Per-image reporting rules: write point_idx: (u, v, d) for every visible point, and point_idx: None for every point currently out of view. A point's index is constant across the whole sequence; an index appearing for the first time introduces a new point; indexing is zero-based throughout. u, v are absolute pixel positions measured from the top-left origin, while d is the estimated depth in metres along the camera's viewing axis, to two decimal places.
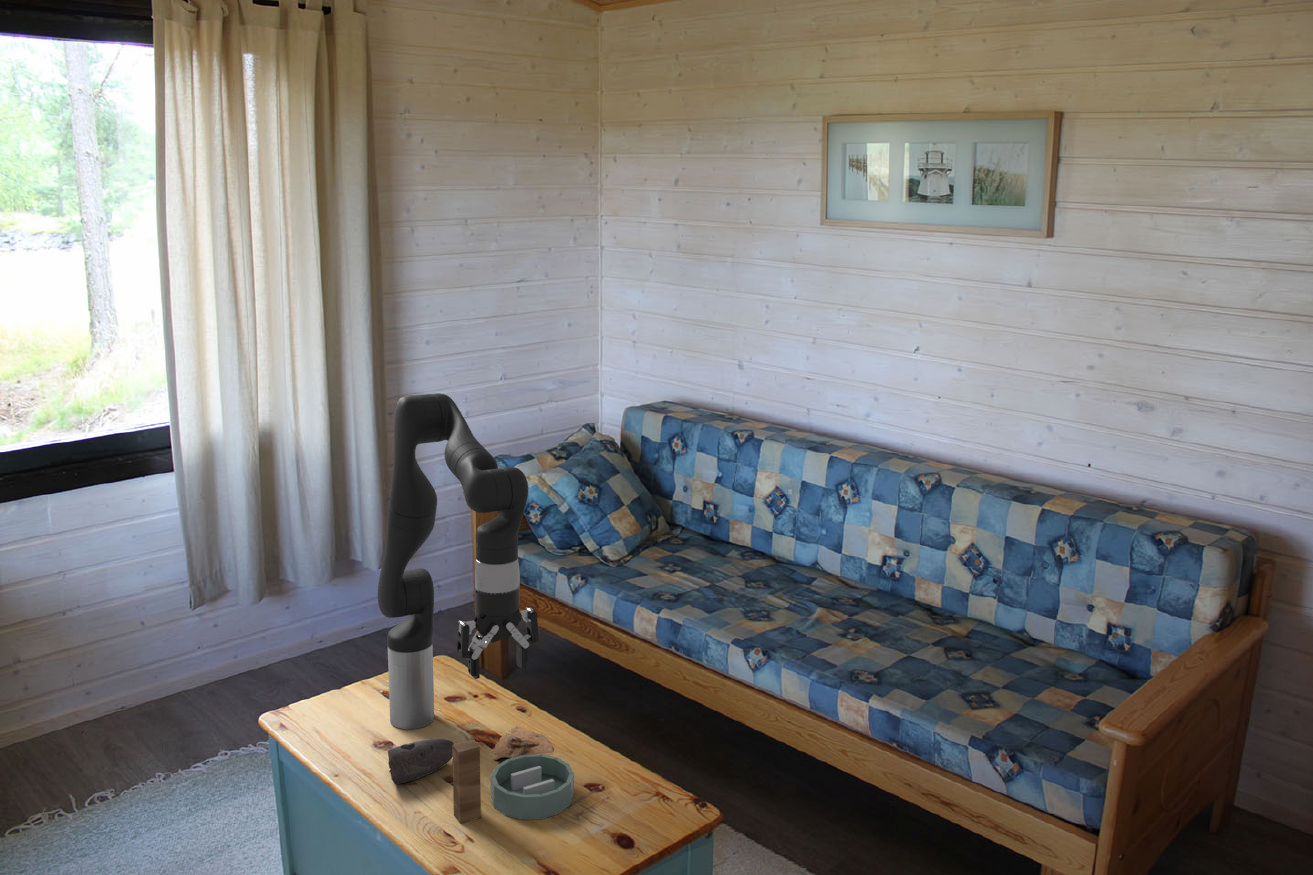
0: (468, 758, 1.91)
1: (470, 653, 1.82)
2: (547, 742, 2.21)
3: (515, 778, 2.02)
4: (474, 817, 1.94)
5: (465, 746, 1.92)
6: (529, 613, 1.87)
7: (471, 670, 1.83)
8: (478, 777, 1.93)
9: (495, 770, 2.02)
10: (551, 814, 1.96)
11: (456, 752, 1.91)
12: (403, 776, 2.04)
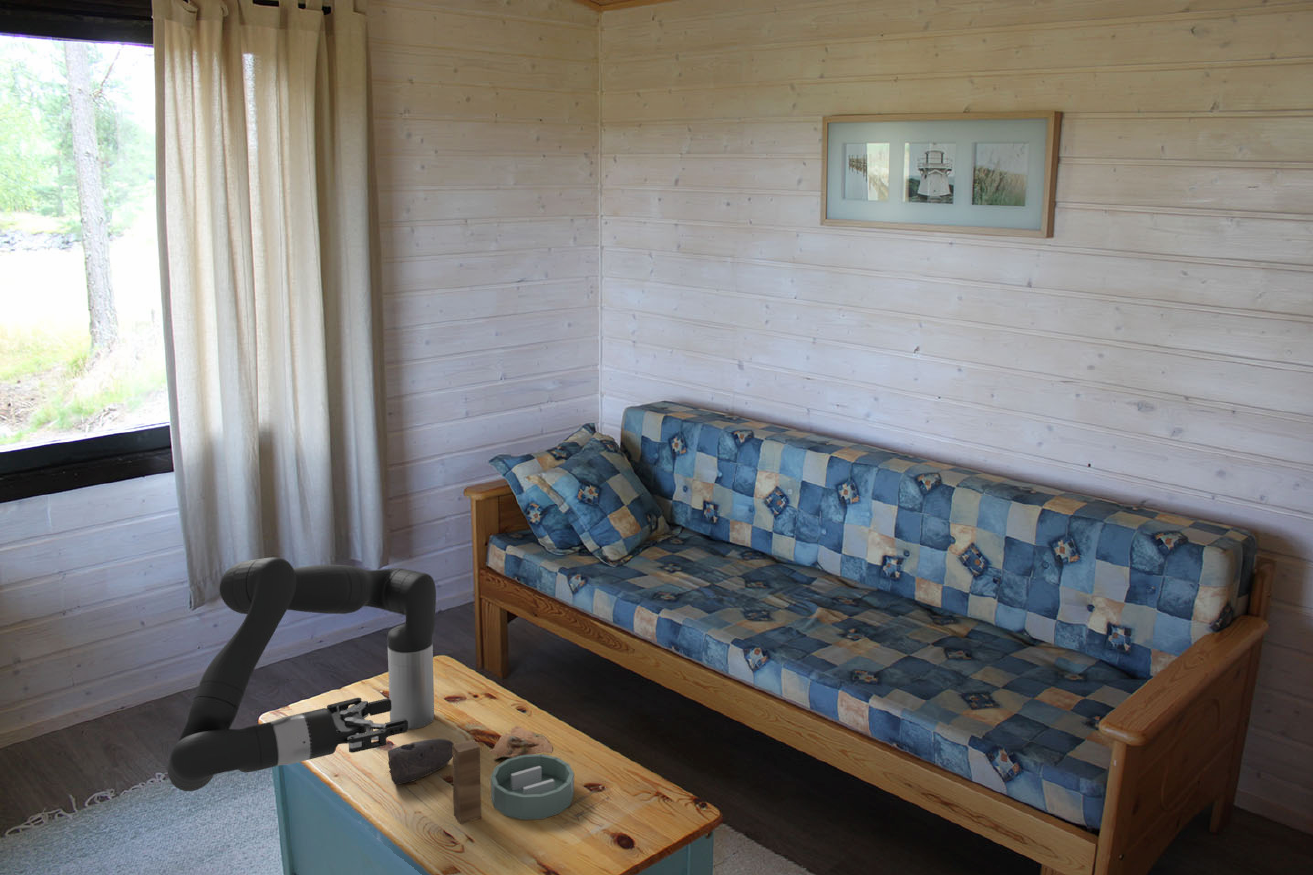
0: (468, 758, 1.91)
1: None
2: (547, 742, 2.21)
3: (515, 778, 2.02)
4: (474, 817, 1.94)
5: (465, 746, 1.92)
6: None
7: None
8: (478, 777, 1.93)
9: (495, 770, 2.02)
10: (551, 814, 1.96)
11: (456, 752, 1.91)
12: (403, 776, 2.04)
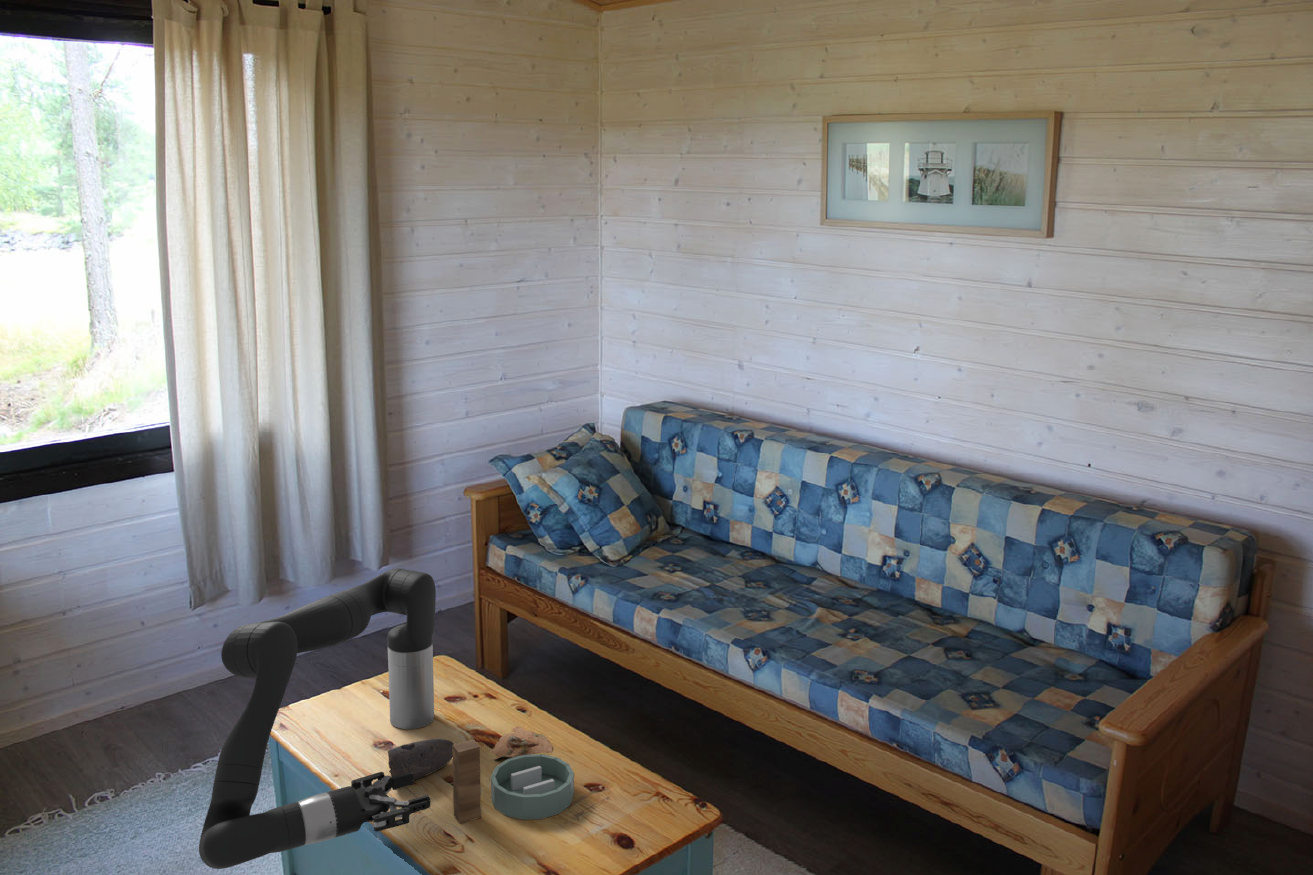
0: (468, 758, 1.91)
1: None
2: (547, 742, 2.21)
3: (515, 778, 2.02)
4: (474, 817, 1.94)
5: (465, 746, 1.92)
6: None
7: None
8: (478, 777, 1.93)
9: (495, 770, 2.02)
10: (551, 814, 1.96)
11: (456, 752, 1.91)
12: None
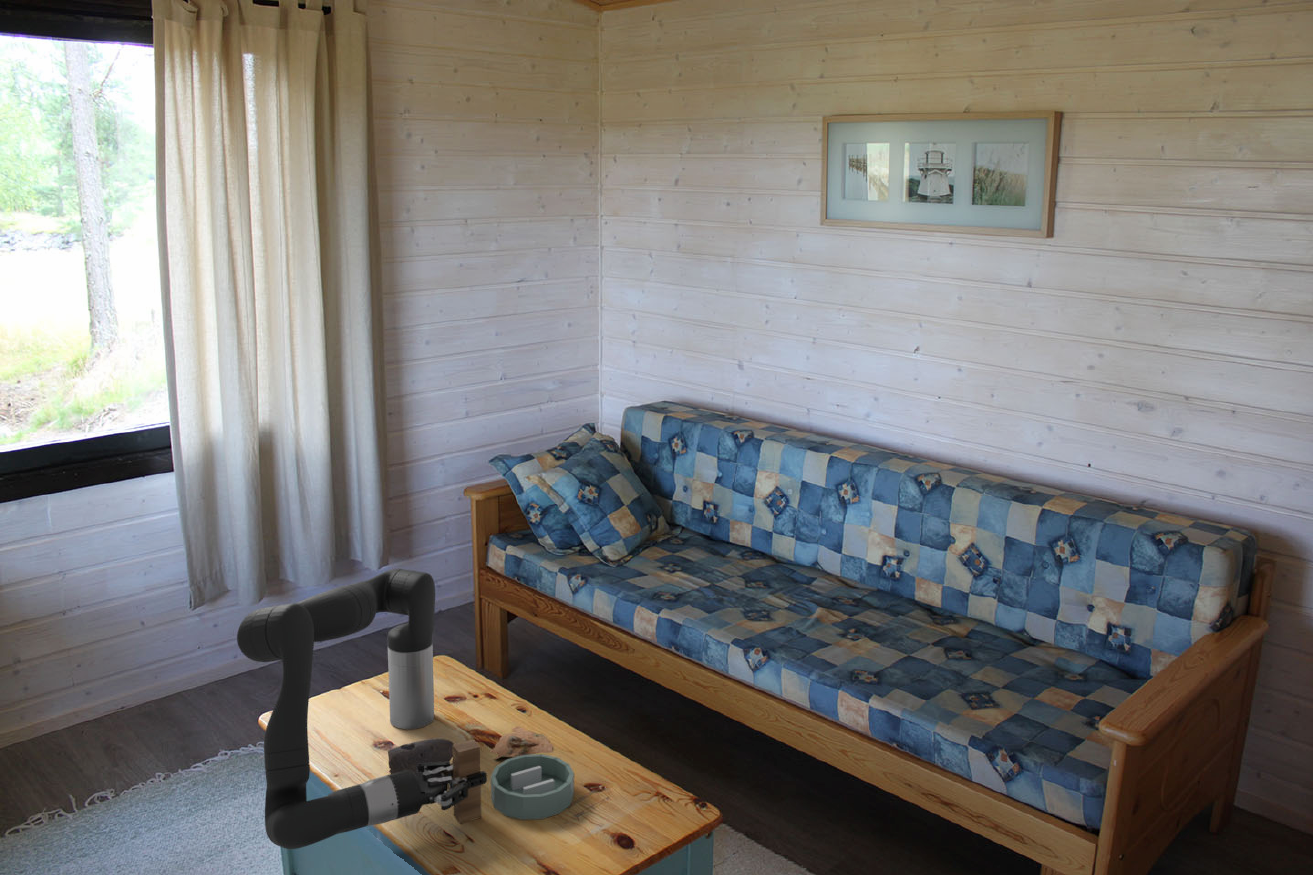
0: (468, 758, 1.91)
1: None
2: (547, 742, 2.21)
3: (515, 778, 2.02)
4: (474, 817, 1.94)
5: (465, 746, 1.92)
6: None
7: None
8: None
9: (495, 770, 2.02)
10: (551, 814, 1.96)
11: (456, 752, 1.91)
12: None
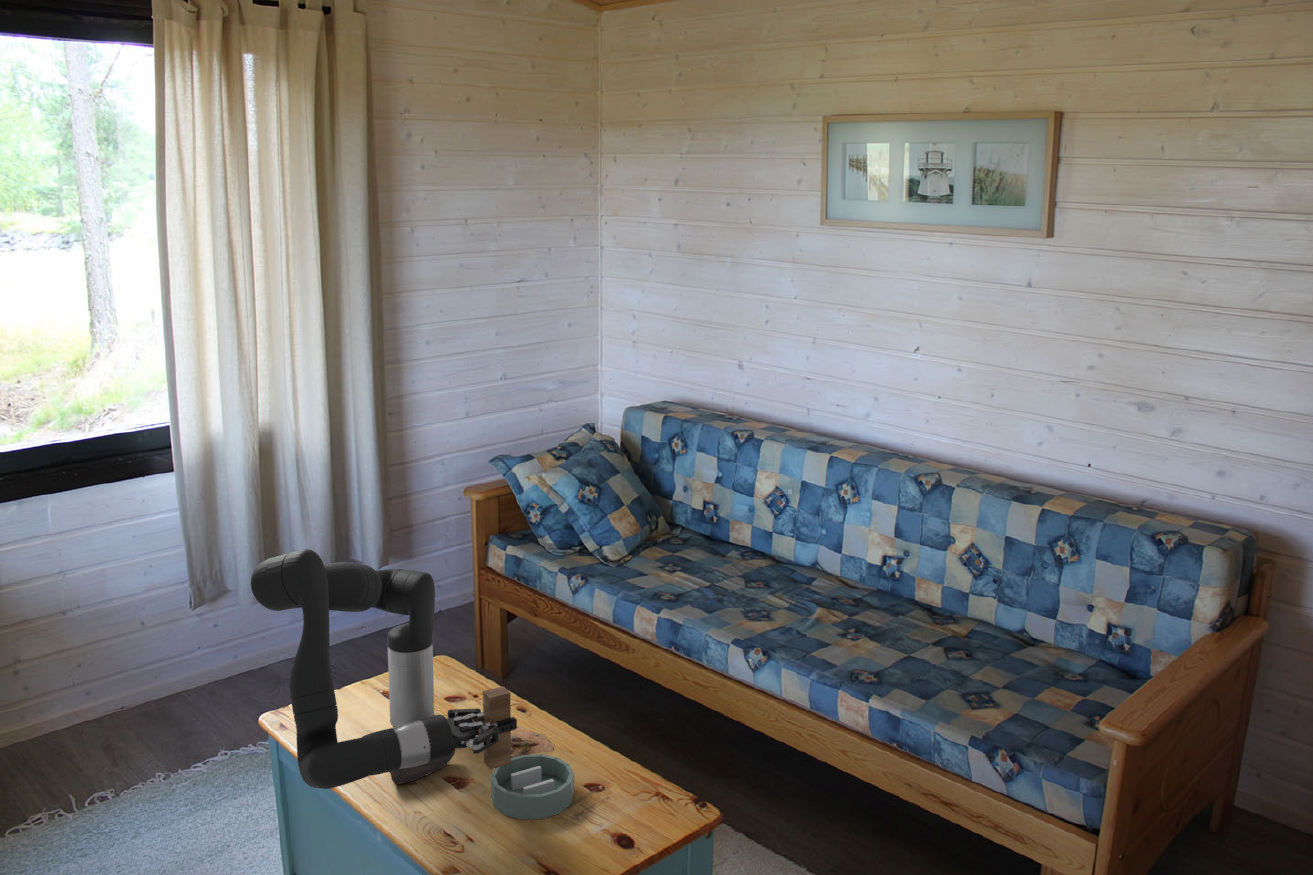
0: (499, 704, 1.93)
1: (480, 722, 1.96)
2: (547, 741, 2.22)
3: (515, 778, 2.02)
4: (504, 763, 1.96)
5: (495, 692, 1.93)
6: None
7: None
8: None
9: (495, 770, 2.02)
10: (551, 814, 1.96)
11: (487, 698, 1.92)
12: (403, 776, 2.04)
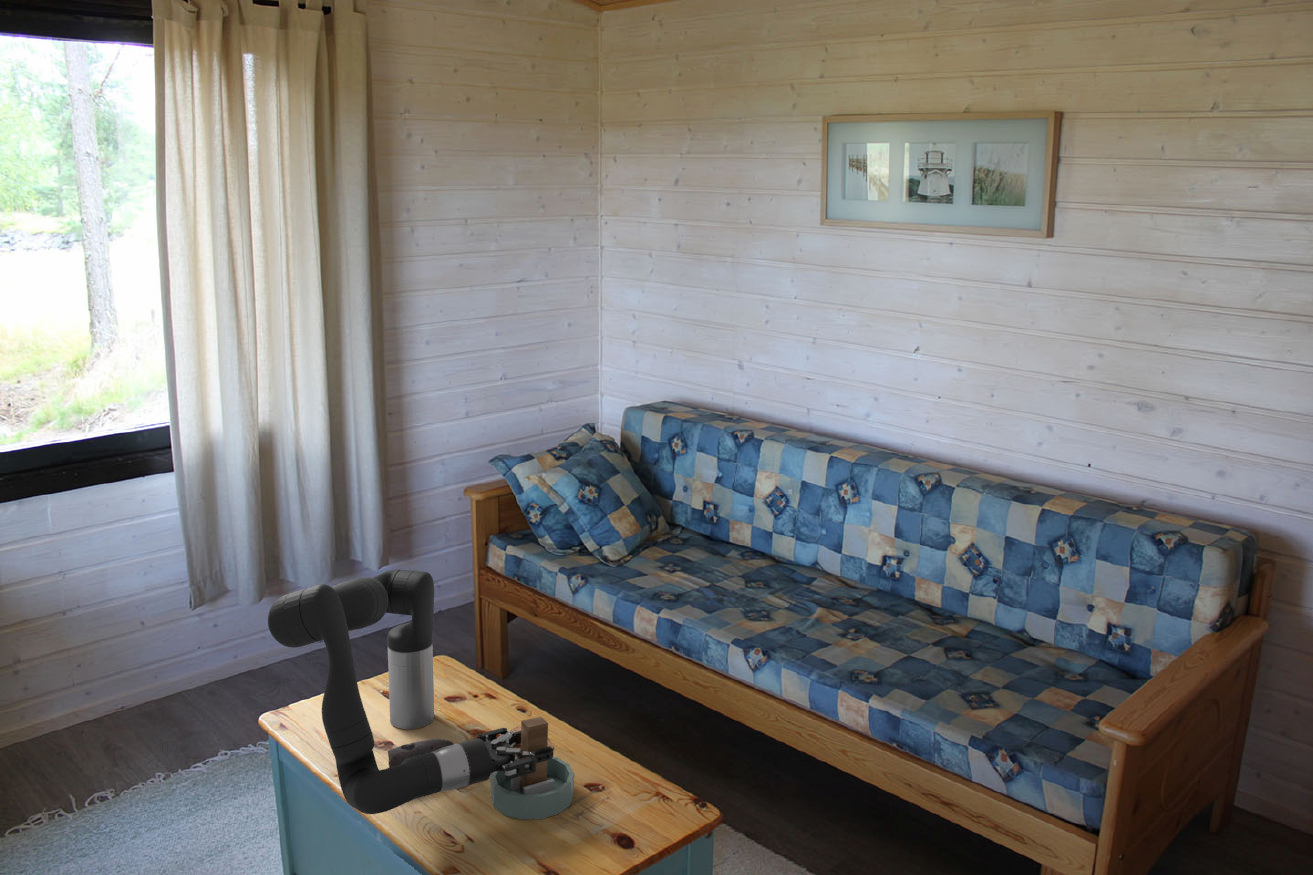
0: (537, 734, 1.98)
1: None
2: (548, 741, 2.22)
3: (515, 778, 2.02)
4: None
5: (534, 722, 1.99)
6: None
7: None
8: None
9: None
10: (551, 814, 1.96)
11: (525, 727, 1.98)
12: None
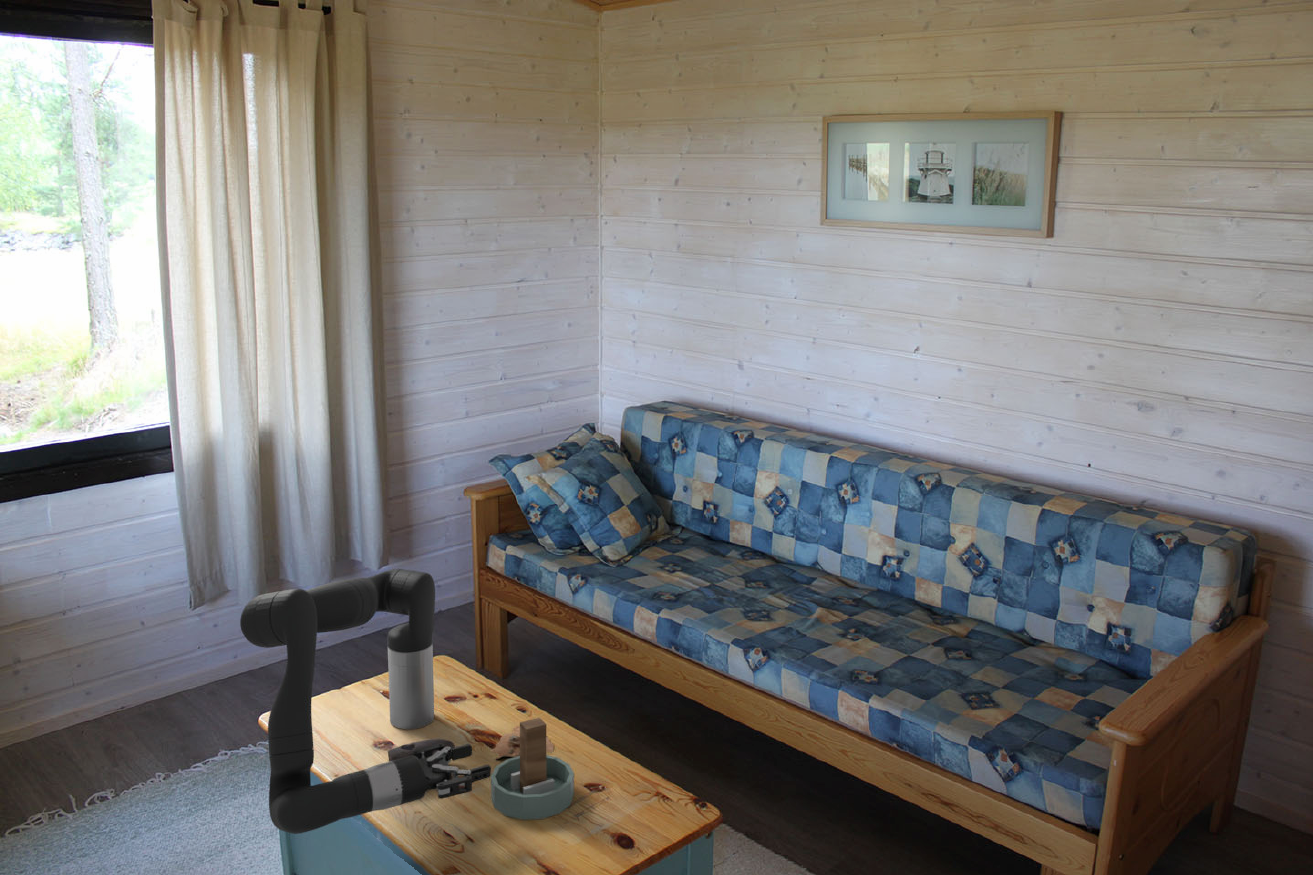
0: (535, 735, 1.98)
1: None
2: (548, 741, 2.22)
3: (515, 778, 2.02)
4: None
5: (532, 724, 1.98)
6: None
7: None
8: (544, 754, 2.00)
9: (495, 770, 2.02)
10: (551, 814, 1.96)
11: (524, 729, 1.98)
12: None
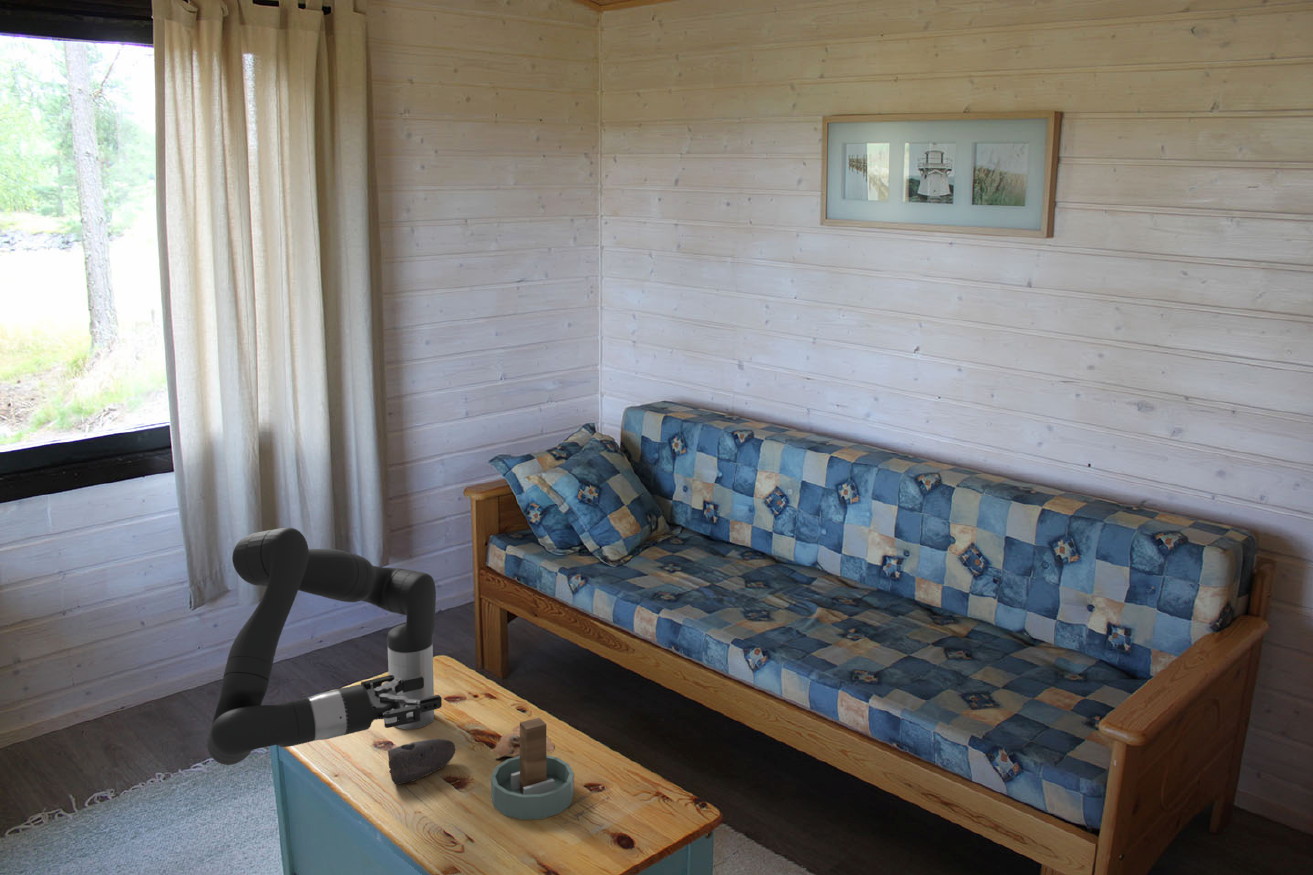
0: (535, 735, 1.98)
1: None
2: (548, 741, 2.22)
3: (515, 778, 2.02)
4: None
5: (532, 724, 1.98)
6: None
7: None
8: (544, 754, 2.00)
9: (495, 770, 2.02)
10: (551, 814, 1.96)
11: (524, 729, 1.98)
12: (403, 776, 2.04)
